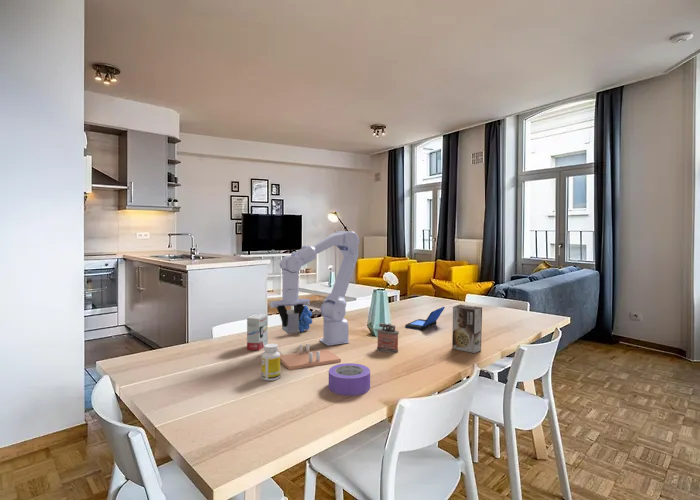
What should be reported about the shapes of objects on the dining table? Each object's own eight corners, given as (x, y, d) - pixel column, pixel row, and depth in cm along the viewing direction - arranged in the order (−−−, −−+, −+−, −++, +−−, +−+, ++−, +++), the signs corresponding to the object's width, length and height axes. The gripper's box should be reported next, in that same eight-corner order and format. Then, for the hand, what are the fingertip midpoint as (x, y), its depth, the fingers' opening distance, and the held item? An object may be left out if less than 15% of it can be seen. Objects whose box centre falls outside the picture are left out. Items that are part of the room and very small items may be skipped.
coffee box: (481, 350, 149) (483, 307, 148) (474, 353, 144) (475, 309, 143) (459, 344, 155) (460, 303, 154) (451, 348, 150) (452, 306, 149)
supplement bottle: (283, 375, 120) (283, 343, 119) (274, 382, 115) (274, 348, 114) (267, 373, 122) (267, 341, 121) (258, 379, 117) (258, 346, 116)
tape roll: (337, 399, 105) (337, 380, 104) (322, 382, 115) (322, 365, 115) (377, 392, 109) (377, 374, 109) (359, 377, 120) (359, 361, 120)
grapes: (298, 336, 164) (298, 307, 163) (287, 333, 168) (287, 305, 168) (318, 331, 173) (318, 303, 172) (308, 328, 177) (308, 301, 177)
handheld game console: (418, 321, 194) (419, 302, 194) (445, 325, 186) (445, 306, 186) (403, 328, 181) (404, 307, 181) (431, 332, 174) (431, 311, 173)
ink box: (258, 351, 144) (258, 318, 143) (246, 350, 145) (246, 317, 144) (268, 344, 152) (268, 313, 152) (256, 343, 153) (256, 313, 153)
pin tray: (326, 351, 144) (326, 340, 144) (340, 361, 133) (340, 350, 133) (278, 358, 136) (278, 347, 136) (289, 369, 125) (289, 357, 125)
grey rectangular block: (292, 328, 150) (292, 309, 149) (298, 332, 143) (298, 313, 143) (282, 329, 148) (282, 310, 147) (288, 333, 142) (288, 314, 141)
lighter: (399, 350, 146) (399, 323, 146) (396, 353, 143) (397, 325, 143) (378, 347, 150) (379, 321, 149) (375, 350, 147) (376, 323, 146)
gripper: (274, 291, 138) (274, 330, 139) (313, 289, 145) (312, 326, 145) (268, 288, 144) (268, 325, 145) (306, 286, 151) (305, 321, 152)
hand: (290, 325), depth 146 cm, fingers closed on grey rectangular block, 4 cm apart
